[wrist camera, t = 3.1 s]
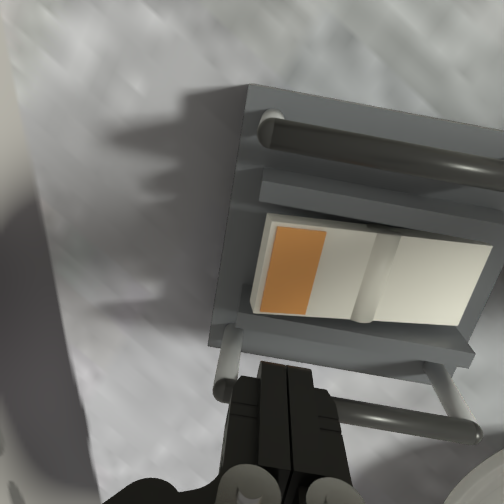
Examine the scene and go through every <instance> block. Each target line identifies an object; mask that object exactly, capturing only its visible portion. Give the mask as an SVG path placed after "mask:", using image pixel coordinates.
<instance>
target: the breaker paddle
mask: <svg viewBox="0 0 504 504" xmlns="http://www.w3.org/2000/svg"><path fill="white" fill-rule="evenodd" d="M492 247H493V246H492V245H490V244H489V243H486V242H481V241H476V240H470V239H465V238H459V237H454V236H448V235H443V234H437V233H432V232H426V231H420V230H411V229H402V228H394V227H389V226H385V225H381V224H374V223H371V224H359V223H351V222H342V221H334V220H325V219H316V218H308V217H299V216H291V215H282V214H273V213H267V215H266V221H265V226H264V231H263V236H262V241H261V246H260V251H259V256H258V261H257V266H256V272H255V277H254V282H253V287H252V292H251V297H250V304H251V307H252V310H253V313H257V314H274V315H290V316H306V317H322V318H338V319H351V320H353V321H356V322H359V323H370V322H372V321H387V322H403V323H419V324H436V325H452V326H458V324H459V322H460V320H461V318H462V315H463V313H464V311H465V308H466V306H467V304H468V302H469V299H470V297H471V295H472V293H473V290H474V288H475V286H476V284H477V281H478V279H479V277H480V274H481V272H482V270H483V268H484V265H485V263H486V261H487V259H488V256H489V254H490V252H491V249H492Z"/></svg>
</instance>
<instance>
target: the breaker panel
mask: <svg viewBox="0 0 504 504" xmlns="http://www.w3.org/2000/svg"><path fill="white" fill-rule="evenodd" d="M267 213H273V214H282V215H291V216H299V217H308V218H316V219H325V220H334V221H342V222H351V223H359V224H371V223H374V224H381V225H385V226H389V227H394V228H402V229H411V230H420V231H426V232H432V233H437V234H443V235H448V236H454V237H459V238H465V239H470V240H476V241H481V242H486V243H489V244H490V245H492V246H493V247H492V249H491V252H490V254H489V256H488V259H487V261H486V263H485V265H484V268H483V270H482V272H481V274H480V277H479V279H478V281H477V284H476V286H475V288H474V290H473V293H472V295H471V297H470V299H469V302H468V304H467V306H466V308H465V311H464V313H463V315H462V318H461V320H460V322H459V324H458V326H452V325H436V324H419V323H403V322H387V321H372V322H370V323H359V322H356V321H353V320H351V319H338V318H322V317H306V316H290V315H274V314H257V313H253V310H252V307H251V304H250V297H251V292H252V287H253V282H254V277H255V272H256V266H257V261H258V256H259V251H260V246H261V241H262V236H263V231H264V226H265V221H266V215H267ZM503 266H504V131H503V130H497V129H492V128H487V127H481V126H476V125H471V124H465V123H460V122H455V121H449V120H444V119H439V118H434V117H428V116H423V115H418V114H412V113H407V112H402V111H396V110H391V109H386V108H380V107H375V106H370V105H364V104H359V103H354V102H348V101H343V100H338V99H332V98H327V97H322V96H317V95H311V94H306V93H301V92H295V91H290V90H285V89H279V88H274V87H269V86H263V85H258V84H249V86H248V92H247V98H246V105H245V111H244V117H243V124H242V130H241V137H240V143H239V149H238V156H237V162H236V168H235V175H234V181H233V187H232V194H231V200H230V207H229V213H228V219H227V226H226V232H225V238H224V245H223V251H222V258H221V264H220V270H219V277H218V283H217V289H216V296H215V302H214V308H213V315H212V321H211V328H210V334H209V340H208V346H210V347H216V348H221V350H220V355H219V360H218V365H217V370H216V375H215V380H214V386H213V395H214V397H215V399H216V400H217V401H219V402H222V403H228V404H229V403H230V398H231V393H232V388H233V386H234V384H235V383H236V382H237V381H238V380H237V378H238V370H239V362H240V354H241V352H244V353H250V354H256V355H262V356H267V357H273V358H279V359H285V360H290V361H296V362H302V363H308V364H313V365H319V366H325V367H331V368H336V369H342V370H348V371H354V372H359V373H365V374H371V375H377V376H382V377H388V378H394V379H400V380H405V381H411V382H417V383H423V384H428V385H432V386H433V388H434V390H435V392H436V394H437V396H438V398H439V400H440V402H441V404H442V406H443V407H444V409H445V411H446V413H447V415H448V416H442V415H436V414H431V413H425V412H419V411H413V410H407V409H402V408H396V407H390V406H384V405H378V404H373V403H367V402H361V401H355V400H349V399H344V398H338V397H332V396H331V397H332V399H333V400H334V402H335V403H336V407H337V412H338V417H339V422H340V423H345V424H350V425H356V426H362V427H368V428H374V429H380V430H385V431H391V432H397V433H403V434H409V435H415V436H420V437H426V438H432V439H438V440H444V441H450V442H456V443H461V444H467V445H476V444H478V443H480V442H481V440H482V438H483V432H482V429H481V427H480V426H479V425H478V422H477V421H476V419H475V417H474V416H473V414H472V412H471V411H470V409H469V407H468V405H467V404H466V402H465V400H464V399H463V397H462V395H461V394H460V392H459V390H458V389H457V387H456V385H455V384H454V382H453V380H452V379H451V378H452V376H453V374H454V372H455V370H456V367H462V368H468V369H469V367H470V365H471V363H472V360H473V358H474V356H475V352H474V351H473V350H472V348H471V347H470V346H469V344H468V341H469V339H470V337H471V335H472V333H473V331H474V328H475V326H476V324H477V322H478V320H479V318H480V315H481V313H482V311H483V309H484V307H485V305H486V302H487V300H488V298H489V296H490V294H491V292H492V289H493V287H494V285H495V283H496V281H497V279H498V276H499V274H500V272H501V270H502V268H503Z"/></svg>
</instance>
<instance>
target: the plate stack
mask: <svg viewBox="0 0 504 504" xmlns="http://www.w3.org/2000/svg"><path fill="white" fill-rule="evenodd" d="M443 504H504V449H502V450H501V451H499V452H497V453H496V454H494V455H492V456H491V457H489V458H488V459H486V460H485V461H484V462H482V463H481V464H479V465H478V466H477V467H476V468H474V469H473V470H472V471H471V472H470V473H468V474H467V475H466V476H465V477H464V478H463V479H462V480H461V481H460V482H459V483H458V484H457V486H456V487H455V488H454V489H453V490H452V492H451V493H450V494H449V496H448V497H447V499H446V500H445V502H444V503H443Z"/></svg>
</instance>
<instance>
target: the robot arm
mask: <svg viewBox="0 0 504 504" xmlns="http://www.w3.org/2000/svg"><path fill="white" fill-rule="evenodd" d="M103 504H365V502H364V500H363V498H362V497H361V495H360V494H359V493H358V492H357V491H356V490H355V489H354V488H353V486H352V482H351V477H350V472H349V467H348V462H347V457H346V452H345V447H344V442H343V437H342V435H341V427H340V422H339V417H338V412H337V407H336V403H335V402H334V400H333V399H332V397H331V396H330V394H329V393H328V391H327V390H325V389H319V388H314V385H313V378H312V371H311V369H307V368H301V367H295V366H289V365H286V366H285V365H283V364H277V363H271V362H265V361H261V362H260V365H259V369H258V374H257V378H253V377H247V376H241V377H240V378H239V379H238V381H237V382H236V383H235V384H234V386H233V388H232V393H231V398H230V403H229V408H228V413H227V418H226V423H225V430H224V437H223V445H222V452H221V460H220V467H219V474H218V476H217V477H216V478H215V479H214V480H213V481H212V482H211V483H209V484H208V485H206V486H204V487H202V488H199V489H195V490H190V491H184V492H178V491H177V490H176V488H175V487H174V486H172V485H171V484H170V483H168V482H167V481H164V480H162V479H158V478H144V479H140V480H137V481H135V482H133V483H131V484H129V485H128V486H126V487H125V488H124V489H122V490H121V491H120V492H118V493H117V494H115V495H114V496H113V497H111V498H110V499H108V500H107V501H106V502H104V503H103Z"/></svg>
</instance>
